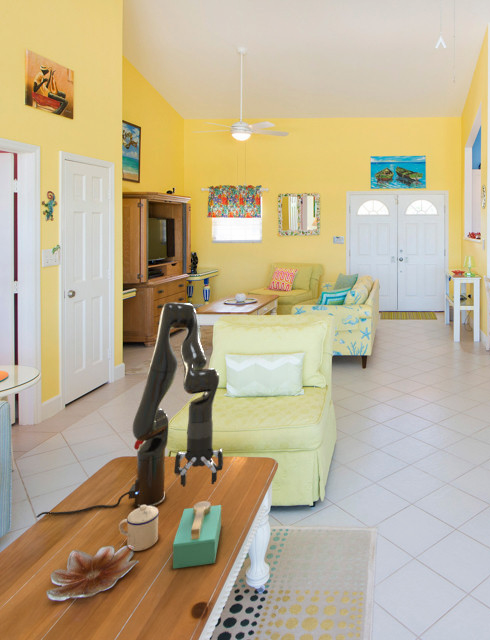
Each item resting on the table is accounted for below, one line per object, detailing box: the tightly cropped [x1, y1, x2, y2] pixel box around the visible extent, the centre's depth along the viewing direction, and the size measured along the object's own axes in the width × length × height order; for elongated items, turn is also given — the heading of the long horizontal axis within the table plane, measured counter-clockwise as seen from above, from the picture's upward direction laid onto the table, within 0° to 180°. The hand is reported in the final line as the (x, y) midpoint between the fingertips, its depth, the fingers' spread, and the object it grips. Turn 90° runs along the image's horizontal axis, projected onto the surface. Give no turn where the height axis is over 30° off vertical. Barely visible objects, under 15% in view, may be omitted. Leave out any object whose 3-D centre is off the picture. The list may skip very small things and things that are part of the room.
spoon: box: [191, 500, 212, 540], centre depth 146 cm, size 17×5×3 cm, turn 13°
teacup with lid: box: [118, 505, 160, 552], centre depth 147 cm, size 12×9×12 cm
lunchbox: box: [172, 509, 222, 569], centre depth 146 cm, size 18×12×7 cm, turn 13°
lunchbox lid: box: [172, 504, 222, 548], centre depth 145 cm, size 18×12×1 cm, turn 13°
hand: (198, 484), depth 146 cm, fingers open, 8 cm apart
